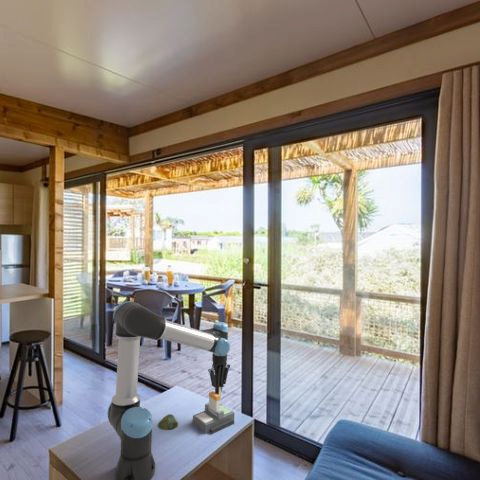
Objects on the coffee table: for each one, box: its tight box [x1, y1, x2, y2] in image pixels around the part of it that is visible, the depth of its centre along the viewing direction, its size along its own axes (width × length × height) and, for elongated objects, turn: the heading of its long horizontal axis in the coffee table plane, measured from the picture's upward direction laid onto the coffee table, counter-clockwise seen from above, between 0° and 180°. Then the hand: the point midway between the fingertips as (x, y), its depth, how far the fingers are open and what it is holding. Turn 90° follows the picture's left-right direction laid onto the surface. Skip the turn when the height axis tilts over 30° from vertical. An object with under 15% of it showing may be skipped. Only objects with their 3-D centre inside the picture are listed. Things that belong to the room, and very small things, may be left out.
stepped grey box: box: [192, 402, 235, 434], centre depth 169 cm, size 18×12×7 cm, turn 133°
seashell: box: [157, 413, 179, 431], centre depth 165 cm, size 10×4×10 cm
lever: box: [208, 391, 221, 415], centre depth 169 cm, size 2×8×9 cm, turn 42°
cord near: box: [209, 419, 235, 435], centre depth 164 cm, size 14×2×2 cm, turn 133°
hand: (218, 399), depth 171 cm, fingers closed
